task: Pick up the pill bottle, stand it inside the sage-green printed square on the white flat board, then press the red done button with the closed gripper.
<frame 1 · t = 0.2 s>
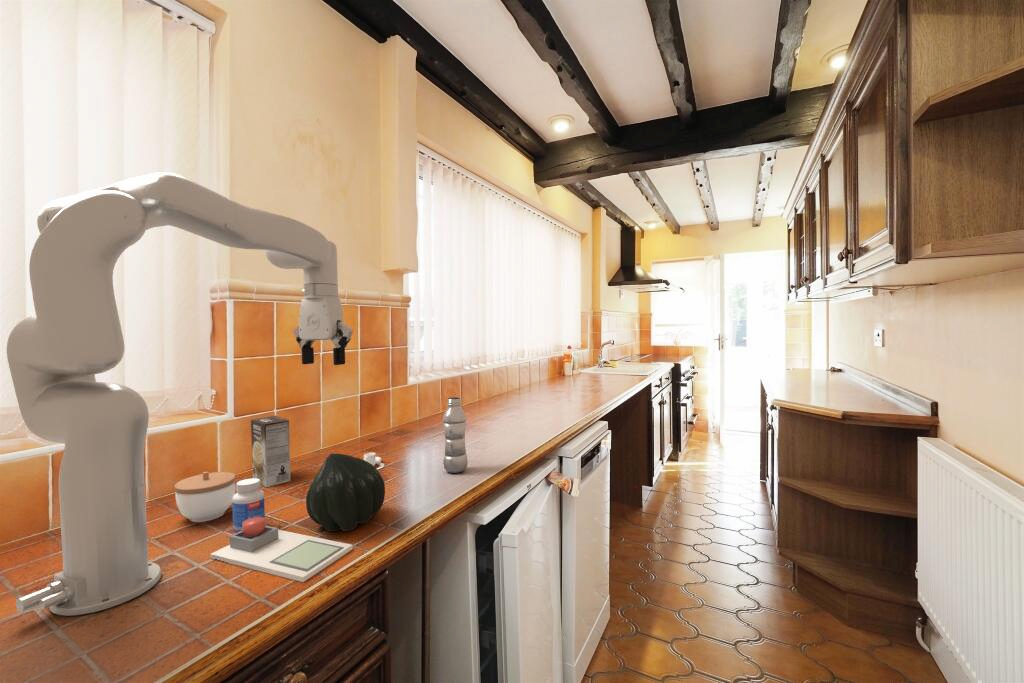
hand: (323, 364, 109), 31 cm above the worktop, tool pointing down, fingers open, 9 cm apart
done button: (254, 526, 81), point 4 cm above the worktop, slide at 0.0 cm
squash: (347, 523, 91), on the worktop
plastic bottle: (455, 472, 123), on the worktop
coffee box: (271, 481, 117), on the worktop
lidded jar: (207, 517, 96), on the worktop
teacup and saucer: (381, 467, 129), on the worktop
white flat board: (282, 553, 79), on the worktop
pill bottle: (249, 531, 88), on the worktop
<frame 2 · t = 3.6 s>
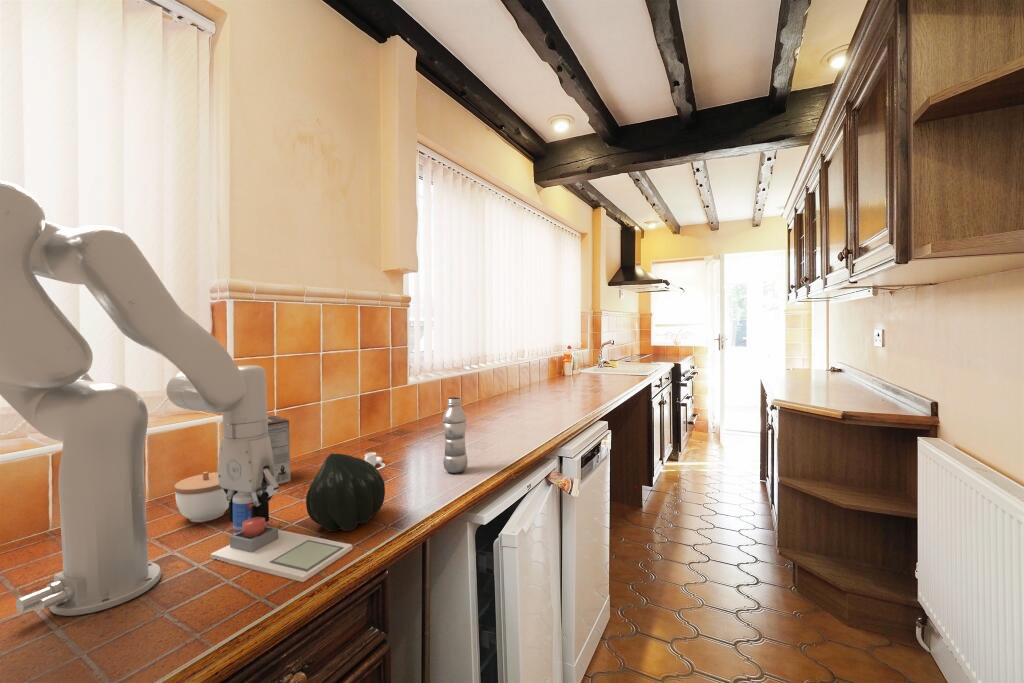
hand: (249, 520, 88), 2 cm above the worktop, tool pointing down, fingers closed on pill bottle, 5 cm apart
pill bottle: (249, 531, 88), on the worktop, touching gripper
everything else where it was.
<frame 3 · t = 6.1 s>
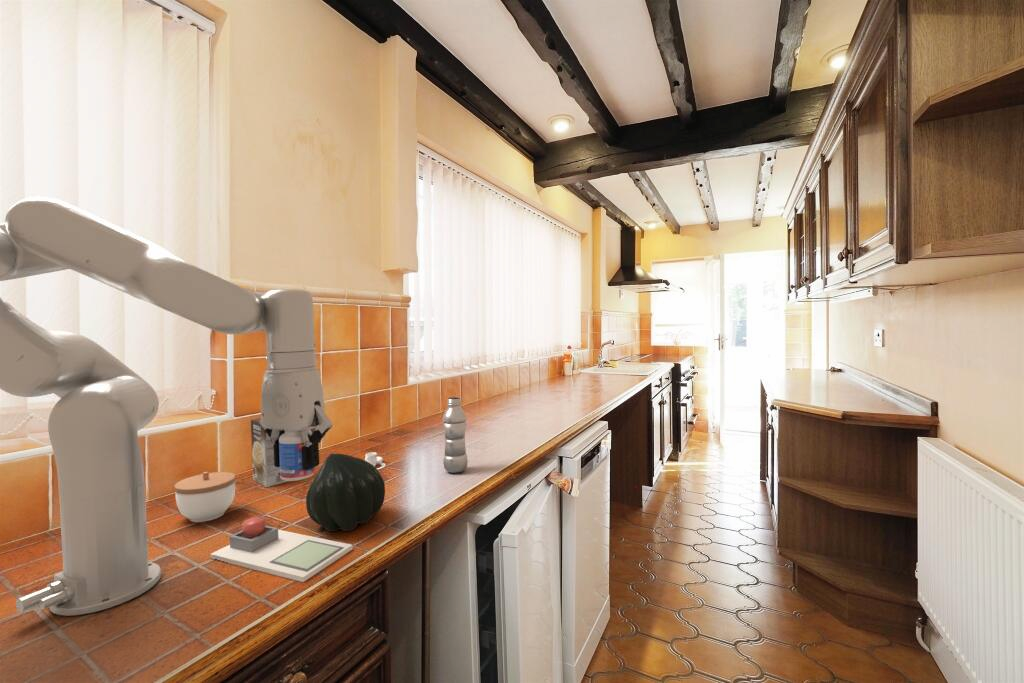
hand: (297, 465, 78), 16 cm above the worktop, tool pointing down, fingers closed on pill bottle, 5 cm apart
pill bottle: (297, 477, 79), point 13 cm above the worktop, touching gripper
everything else where it was.
when the fingers open (4 cm above the worktop, at t = 8.9 s): pill bottle drops 1 cm, resting on white flat board.
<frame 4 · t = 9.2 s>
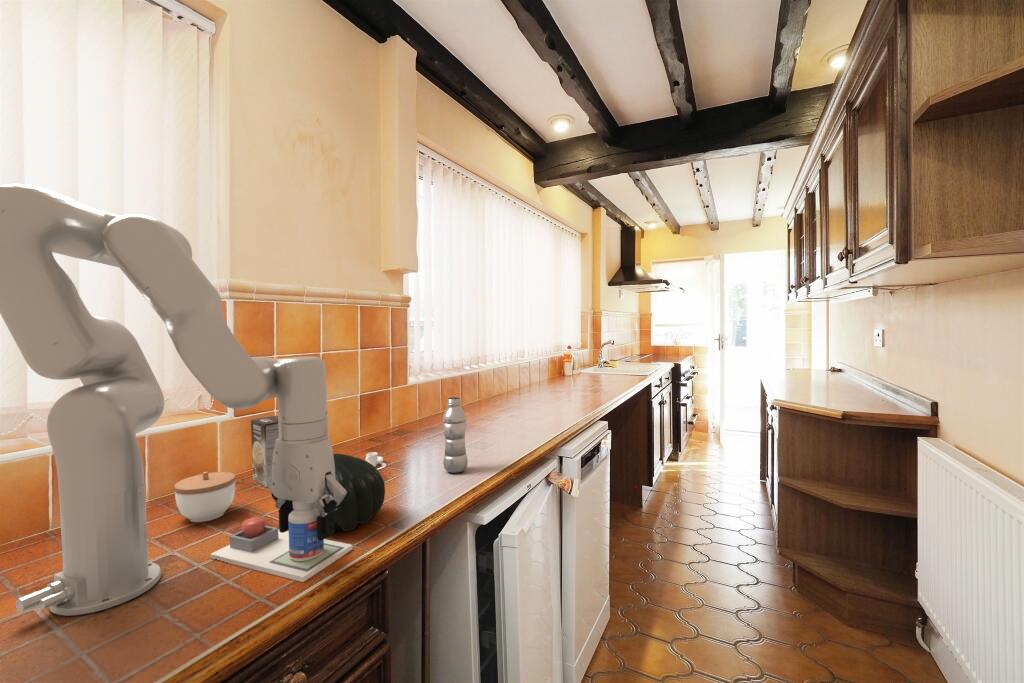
hand: (306, 532, 77), 5 cm above the worktop, tool pointing down, fingers open, 7 cm apart
pill bottle: (307, 555, 77), point 1 cm above the worktop, touching white flat board
everything else where it was.
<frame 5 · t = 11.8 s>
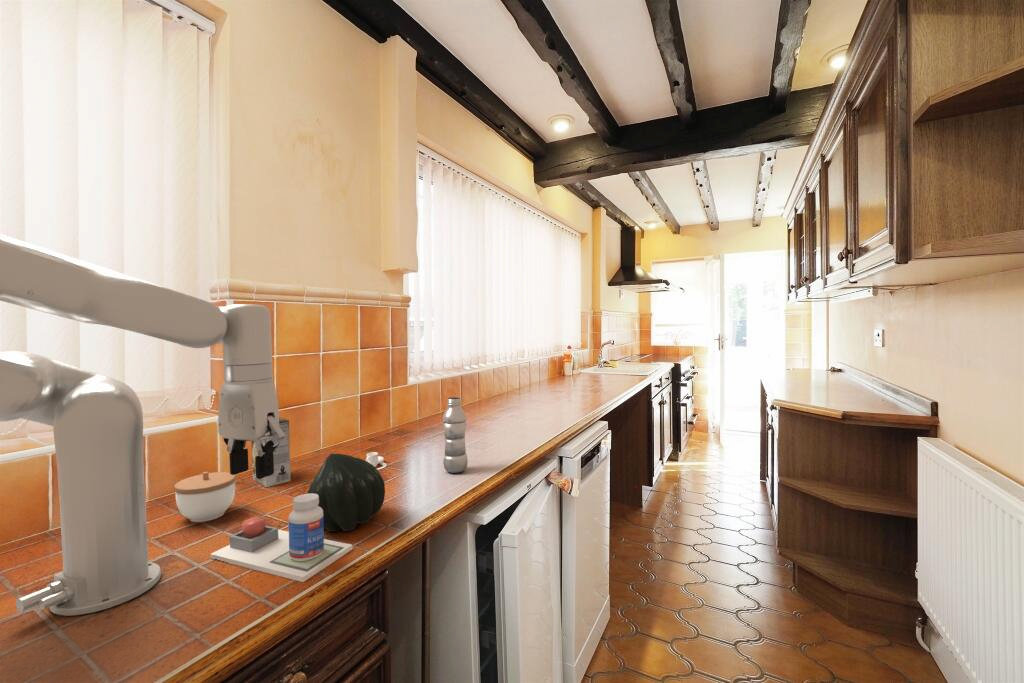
hand: (252, 473, 81), 13 cm above the worktop, tool pointing down, fingers open, 5 cm apart
nothing on the worktop moved.
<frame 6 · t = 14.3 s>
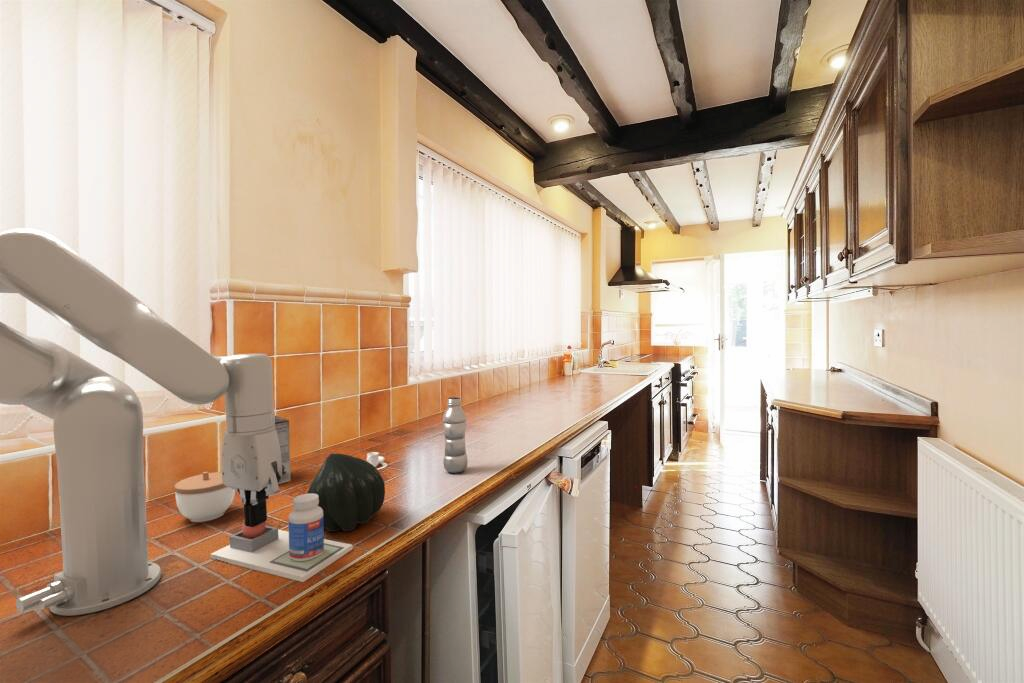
hand: (256, 523, 82), 4 cm above the worktop, tool pointing down, fingers closed
done button: (254, 529, 82), point 3 cm above the worktop, slide at 0.5 cm, touching gripper
everything else where it was.
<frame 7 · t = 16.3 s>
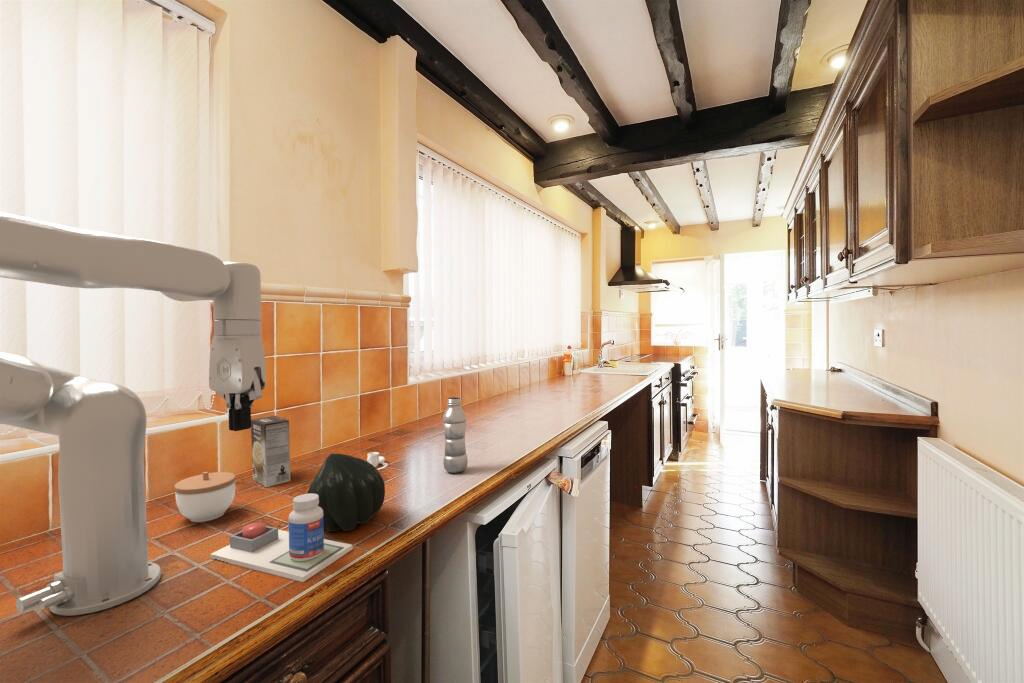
hand: (240, 429, 84), 21 cm above the worktop, tool pointing down, fingers closed
done button: (254, 531, 82), point 3 cm above the worktop, slide at 0.9 cm
everything else where it was.
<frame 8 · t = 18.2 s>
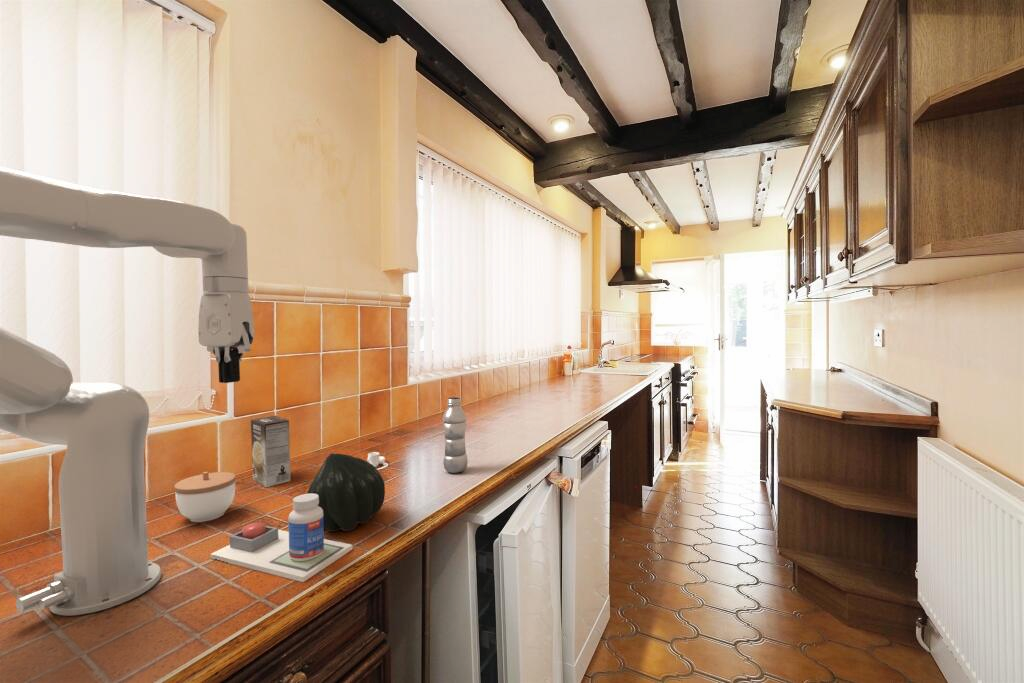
hand: (229, 381, 89), 29 cm above the worktop, tool pointing down, fingers closed
at the end: pill bottle 0.0 cm from the target spot on the white flat board, point 0.7 cm above the white flat board's base; pill bottle tilted 0°; done button slide at 0.9 cm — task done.
